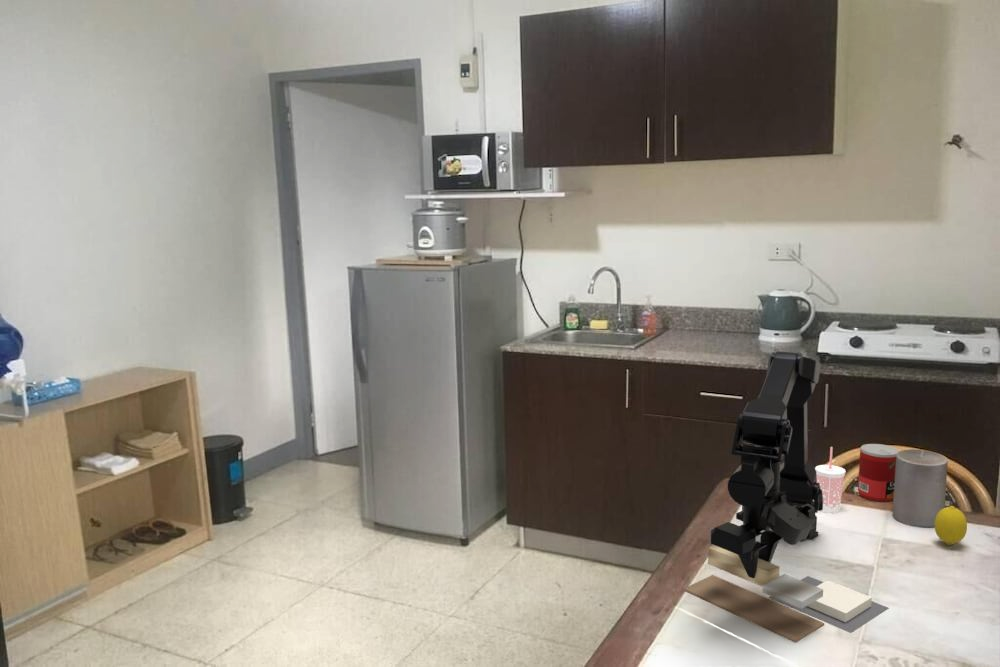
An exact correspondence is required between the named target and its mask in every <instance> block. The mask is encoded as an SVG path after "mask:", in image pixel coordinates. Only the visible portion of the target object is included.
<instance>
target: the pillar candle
mask: <svg viewBox="0 0 1000 667" xmlns="http://www.w3.org/2000/svg"><path fill="white" fill-rule="evenodd" d="M948 461H949V460H948V458H947V457H946V456H945V455H943V454H941V453H938V452H935V451H931V450H925V449H902V450H900V451H899V452H898V453H897V455H896V469H895V484H894V500H892V517H893V519H895V520H896V521H898V522H899V523H901V524H904V525H907V526H910V527H914V526H915V527H918V528H922V527H923V528H935V519H936V516H937V514H938V513H939V511H940V510H942V509H944V508H946V492H947V480H948V478H947V476H948V475H947V474H948V464H949V462H948Z"/></svg>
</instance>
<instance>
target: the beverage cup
mask: <svg viewBox="0 0 1000 667" xmlns="http://www.w3.org/2000/svg"><path fill="white" fill-rule="evenodd" d="M814 469H815V470H816V475H817V483H820V488H821V490H822V494H823V510H821V511H820V512H823V513H827V514H828V513H829V514H836V513H838V512H840V509H841V502H842V496H843V495H842V492H843V486H844V478H845V476H846V469H845V468H843V467H841V466H837V465H833V446H830V450H829V463H828V464H819V465H816V466H815V467H814Z"/></svg>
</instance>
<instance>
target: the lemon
mask: <svg viewBox="0 0 1000 667" xmlns="http://www.w3.org/2000/svg"><path fill="white" fill-rule="evenodd" d="M967 530H968V523H967V519H966V516H965V515H964V513H963V512H962V511H961V510H960V509H959V508H956V507H955V506H953V505H951V506H947V507H946V506H945V508H944V509H942V510H940V511H939V513H938V514H937V516H936V519H935V527H934V531H935V533H936V535H937V537H938V538H939V539H940V540H941V541H942V542H945V543H946V545H947V546H953V545H954V544H957V543H959V542H961V541H962V540H963V539H964V538H965V537H966V535H967Z"/></svg>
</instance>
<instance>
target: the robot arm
mask: <svg viewBox="0 0 1000 667" xmlns="http://www.w3.org/2000/svg"><path fill="white" fill-rule="evenodd" d="M820 371H821V368H820V364H819V363H818V361H817V360H816V359H814V358H813V357H806V356H803V354H800V353H799V352H794V351H793V352H791V351H790V352H789V351H782V350H781V351H779V350H777V351H775V352H772V353H771V355H769V356H768V362H767V368H766V378H765V379H764V383H763V385H762V387H761V390H760V393H759V395H758V397H757V398H755V399H752V400H751V401H748V402H747V404H746V405H745V407H744V409H743V412H742V413H740V414H739V415H738V417H737V421H736V422H737V423H736V428H735V432H734V437H733V441H732V442H733V443H732V448H731V455H732V456H738V457H740V464H739V466H738V468H736V470H735V471H734V472H733V474H732V475H731V476H730V477H729V480H728V482H727V492H728V494H729V495H730V497H731V499H732V500H733V501H734V502H735V503H737V504H738V505H740V506H741V511H738V512H736V513H735V514H736V515H735V518H736V520H738V521H741V522H742V524H741V525H738V524H735V523H732V522H730V521H727V522H724V523H722V524H720V525H718V526H715V527H714V528H712V529H711V530H710V534H709V535H710V536H709V542H710V544H711V545H712V546H713V545H715V546H718V547H720V548H723V549H725V550H728V551H730V552H733V553H735V554H738V556H739V557H740V560H741V562H742V564H743V566H744V568H745V570H746V572H747V575H748V576H749V577H751V578H755V575H756V571H757V564H758V558H759V559H762V560H764V561H767V562H769V563H771V562H772V560H773V557H774V554H775V552H776V551H777V550H776V549H777V547H778V545H779V543H780V542H781V541H782V540H784V542H785V543H787V544H788V545H791V546H794V545H797V544H798V543H799V542H800V543H801V542H805V541H807V540H811V539H813V538H815V537H817V536H818V535H819V532H818V531H817V524H818V522H817V521H818V517H817V515H816V514H817V513H818V512H819V511H820V512H822V511H821V510H823V494H822V490H821V488H820V483H817V475H816V470H815V467H814V465H812V463H810V461H809V459H808V457H809V456H808V455H809V453H808V452H809V450H808V444H809V443H808V401H809V399H810V398H811V397H812V395H813V393H814V390H815V387H816V384H818V383H819V381H820V380H819V379H820V373H821V372H820ZM741 442H743V443H744V444H742V443H741ZM746 444H747V445H746ZM748 444H749V445H748ZM782 461H783V462H782ZM781 462H782V463H781Z"/></svg>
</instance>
